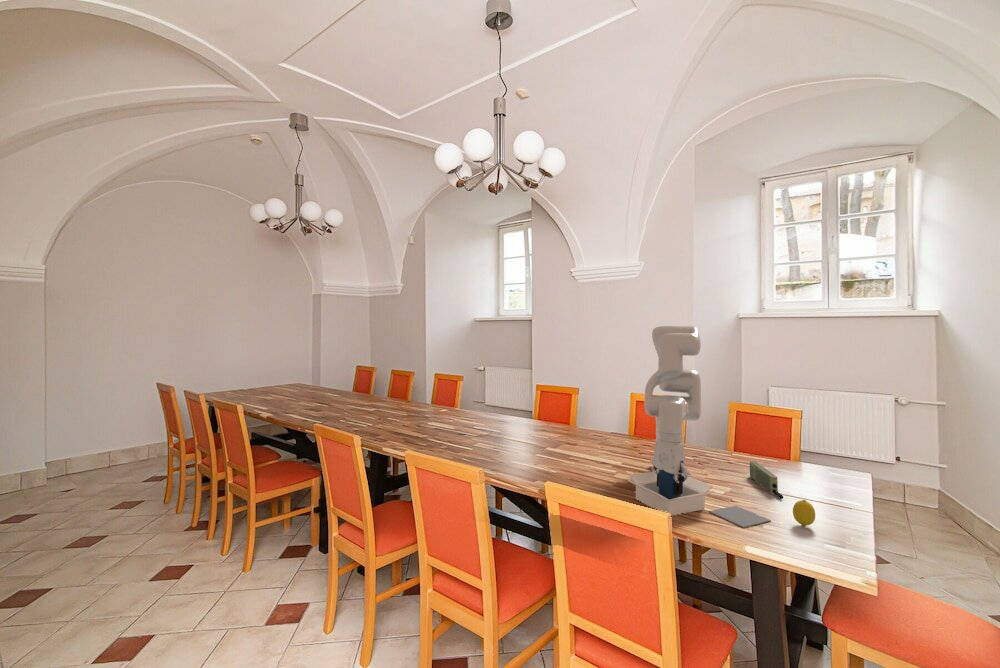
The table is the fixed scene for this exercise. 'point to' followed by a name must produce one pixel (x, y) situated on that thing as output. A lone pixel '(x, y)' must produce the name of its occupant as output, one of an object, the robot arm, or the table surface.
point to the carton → (687, 502)
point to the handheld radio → (764, 478)
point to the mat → (739, 516)
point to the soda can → (667, 485)
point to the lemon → (804, 513)
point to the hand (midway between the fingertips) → (669, 489)
